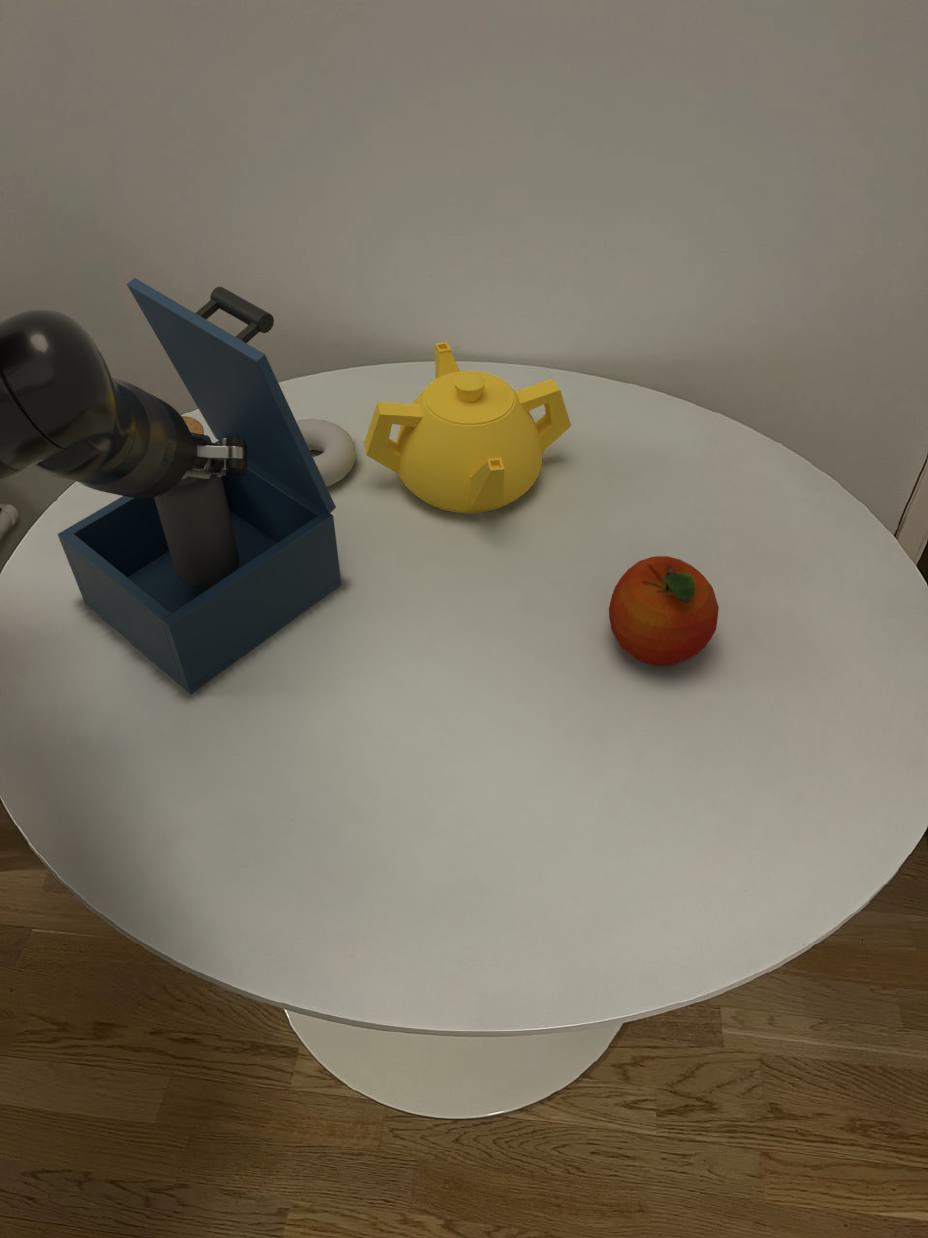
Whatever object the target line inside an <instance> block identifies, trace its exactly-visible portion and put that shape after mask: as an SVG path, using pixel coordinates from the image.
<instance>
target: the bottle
mask: <svg viewBox="0 0 928 1238" xmlns="http://www.w3.org/2000/svg"><path fill="white" fill-rule="evenodd" d="M181 417H182V418H183V419H184V421H185V423H186V424H187V426H188V428H189V430H190V432H192V433H197V434H202V435H205V429H204V426H203V424H202V423H201V422H200V421H199V420H197V419H196V418H193V417H190V416H187V415H186V416H185V415H181ZM211 466H212V460H211ZM188 470H192V469H188ZM154 499H155V502H156V506H157V509H158V513H159V516H160V520H161V523H162V527H163V530H164V534H165V537H166V540H167V544H168V547H169V550H170V554H171V557H172V560H173V564H174V567H175V570H176V572H177V575H178V576H179V578H180V579H181V580H182V581H184V582H185V583H187V584H190V585H193V586H201V587H204V586H212V585H215V584H217V583H218V582H220V581H221V580H223V579H224V578H226V577H227V576H229V575H230V574H232V573H233V572H235V571H236V570H237V568H238V566H239V554H238V549H237V544H236V539H235V535H234V530H233V526H232V521H231V517H230V512H229V508H228V503H227V499H226V495H225V490H224V486H223V481H222V478H219V477H216V476H213V475H211V476H210V478H209V479H190V478H185V479H181V480H180V481H179V483H178V484H177V485H175V486H174V487H173V488H172V489H170V490H169V491H167V492H166V493H164V494H162V495H159V496H156V497H154Z"/></svg>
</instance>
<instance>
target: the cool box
mask: <svg viewBox="0 0 928 1238" xmlns="http://www.w3.org/2000/svg"><path fill="white" fill-rule="evenodd" d="M214 443H221V444H222V442H221V441H219V440H217V441H215V442H214ZM211 460H212V459H211ZM222 481H223V486H224V490H225V495H226V499H227V503H228V508H229V512H230V517H231V521H232V526H233V530H234V535H235V539H236V544H237V549H238V554H239V566H238V568H237V570H236V571H235V572H233V573H232V574H230V575H229V576H227V577H226V578H224V579H223V580H221V581H220V582H218V583H217V584H215V585H212V586H204V587H201V586H193V585H190V584H187V583H185V582H184V581H182V580H181V579H180V578H179V576H178V575H177V572H176V570H175V567H174V564H173V560H172V557H171V554H170V550H169V547H168V544H167V540H166V537H165V534H164V530H163V527H162V523H161V520H160V516H159V513H158V509H157V506H156V502H155V499H154V497H152V498H146V499H136V498H130V497H125V496H120V497H118V498H117V499H115V500H114V501H112V502H110V503H108V504H107V505H105V506H104V507H102V508H100V509H98V510H96V511H94V512H93V513H91V514H89V515H88V516H86V517H84V518H83V519H81V520H79V521H77V522H76V523H74V524H72V525H71V526H69V527H66V528H65V529H64V530H62V531H60V532H59V533H57V537H58V539H59V542H60V545H61V547H62V550H63V552H64V555H65V557H66V560H67V562H68V565H69V567H70V569H71V573H72V574H73V577H74V579H75V582H76V584H77V587H78V589H79V592H80V595H81V597H82V600H83V602H84V605H85V606H87V607H88V608H89V609H90V610H92V611H93V612H94V613H95V614H96V615H97V616H99V617H100V618H101V619H102V620H103V621H104V622H105V623H107V624H108V625H109V626H110V627H111V628H112V629H113V630H115V631H116V632H117V633H119V635H121V636H122V637H123V638H124V639H125V640H126V641H128V642H129V644H131V645H132V646H133V647H135V648H136V649H137V650H138V651H139V652H141V653H142V654H143V655H144V656H145V657H146V658H148V659H149V660H150V661H151V662H152V663H153V664H155V666H156V667H158V668H159V669H160V670H162V671H163V672H164V673H165V674H166V675H167V676H169V678H171V679H172V680H173V681H174V682H175V683H176V684H178V685H179V686H180V687H181V688H182V689H184V690H185V691H186V692H187V693H188V694H189V695H193V694H194V693H196V691H198V690H199V689H201V688H202V687H203V686H205V685H206V684H207V683H209V682H210V681H212V680H213V679H214V678H217V676H219V675H220V674H222V673H223V672H225V670H227V669H228V668H230V667H231V666H233V665H234V664H236V662H238V661H239V660H240V659H242V658H243V657H244V656H246V655H248V654H249V653H250V652H251V651H253V650H254V649H256V648H257V647H258V646H260V645H261V644H263V643H264V642H265V641H266V640H268V639H270V638H271V637H272V636H273V635H275V634H276V633H278V632H279V631H280V630H282V629H283V628H284V627H286V626H288V625H289V624H290V623H291V622H292V621H294V620H295V619H297V618H298V617H300V616H301V615H302V614H303V613H305V612H307V611H308V610H309V609H310V608H312V607H313V606H315V605H316V604H317V603H319V602H320V601H321V600H323V599H325V598H326V597H327V596H328V595H330V594H331V593H333V592H334V591H335V590H337V589H339V587H341V586H342V578H341V570H340V561H339V551H338V543H337V536H336V527H335V519H334V514H332V512H331V513H330V514H329V513H327V512H326V511H324V510H323V509H321V508H320V507H318V506H317V505H315V504H314V503H312V502H311V501H309V500H308V499H306V498H305V497H303V496H302V495H300V494H299V493H297V492H296V491H294V490H293V489H291V488H290V487H288V486H287V485H285V484H284V483H282V482H281V481H279V480H278V479H276V478H275V477H273V476H272V475H270V474H269V473H267V472H266V471H264V470H263V469H261V468H260V467H258V466H257V465H255V464H254V463H252V462H251V461H249V460H248V459H247V475H245V476H243V477H236V475H232V474H231V478H230V479H227V478H222Z"/></svg>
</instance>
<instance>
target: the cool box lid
mask: <svg viewBox="0 0 928 1238" xmlns="http://www.w3.org/2000/svg"><path fill="white" fill-rule="evenodd" d="M126 286H127V288H128V289H129V291H130V293H131V295H132V296H133V297H134V300H135V302H136V303H137V305H138V307H139V308H140V310H141V312H142V313H143V316H144V317H145V320H146V321H147V322H148V324H149V326H150V327H151V330H153V332H154V334H155V336H156V337H157V340H158V341H159V343H160V346H162V348H163V350H164V352H165V354H166V355H167V358H169V360H170V362H171V363H172V365H173V367H174V369H175V371H176V372H177V374H178V377H180V379H181V381H182V383H183V385H184V386H185V388H186V390H187V391H188V393H189V395H190V396H191V398H192V400H193V402H194V404H195V405H196V407H197V408H198V410H199V412H200V415H202V417H203V419H204V421H205V423H206V424H207V426H208V427H209V429H210V432H211V433H212V434H213V437H214V438H215V439H216V440H217V441H221V442H222V438H227V436H231V435H238V436H240V437H243V438H244V440H245V442H246V444H247V459H248V460H249V461H251V462H252V463H254V464H255V465H257V466H258V467H260V468H261V469H263V470H264V471H266V472H267V473H269V474H270V475H272V476H273V477H275V478H276V479H278V480H279V481H281V482H282V483H284V484H285V485H287V486H288V487H290V488H291V489H293V490H294V491H296V492H297V493H299V494H300V495H302V496H303V497H305V498H306V499H308V500H309V501H311V502H312V503H314V504H315V505H317V506H318V507H320V508H321V509H323V510H324V511H326V512H327V513H329V514H330V513H331V514H332V512H333V511H334V510H335V509H336V508H337V506H336V504H335V502H334V500H333V498H332V495H331V493H330V491H329V489H328V486H327V487H326V484H325V482H324V480H323V478H322V476H321V474H320V472H319V469H318V467H317V465H316V463H315V461H314V459H313V457H314V456H313V454H312V452H311V450H309V448H308V446H307V444H306V441H305V439H304V437H303V435H302V433H301V431H300V429H299V426H298V424H297V422H296V421H297V420H296V417H295V416H294V414H293V413H294V412H293V411H292V410H291V408H290V407H291V406H290V405H289V403H288V400H287V398H286V397H285V394H284V392H283V390H282V387H281V385H280V383H279V382H278V381H279V380H278V379H277V377H276V375H275V373H274V371H273V369H272V366H271V363H270V361H269V360H268V358H267V355H266V353H264V352H262V351H261V350H259V349H257V348H255V347H253V346H252V345H250V344H248V343H249V342H250V341H251V340H252V339H253V338H255V336H257V335H258V334H259V333H262V334H266V333H267V334H268V333H269V332H270V331H271V330H272V329H273V327H274V323H275V319H274V316H273V315H272V314H271V313H270V312H268V311H266V310H264V309H263V308H260V307H258V306H257V305H255V304H254V303H252V302H250V301H248V300H247V299H244V298H243V297H241V296H239V295H237V294H236V293H234V292H231V290H229V289H227V288H225V287H223V286H217V287H215V288H213V290H212V291H211V293H210V298H209V301H208V302H206V303H205V304H204V305H202V307H200V308H199V309H198V310H197V311H196V312H194V311H192V310H190V309H189V308H187V307H185V306H184V305H182V304H181V303H179V302H177V301H176V300H174V299H172V298H171V297H168V296H166V295H165V294H163V293H161V292H160V291H158V290H156V289H155V288H153V287H151V286H150V285H148V284H146V283H145V282H143V281H141V280H139V279H137V278H136V277H133V278H132V279H130V281H128V282H127V283H126ZM218 310H221V311H222V312H225V313H226V314H228V315H230V316H232V317H233V318H235V319H237V320H238V321H240V322H242V323H243V324H246V325H247V326H246V327H245V328H243V329H242V330H241V331H240V332H238V333H237V335H233V334H232V333H230V332H228V331H226V330H225V329H223V328H221V327H220V326H218V325H216V324H214V323H212V322H211V321H209V320H208V319H209V318H210V317H211V316H212V315H214V314H215V313H217V311H218Z"/></svg>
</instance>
